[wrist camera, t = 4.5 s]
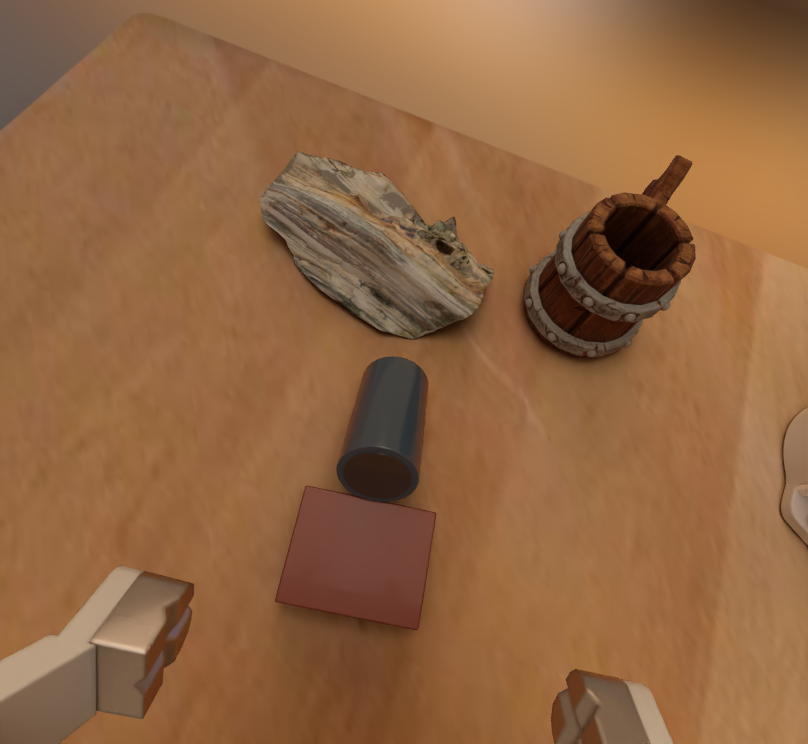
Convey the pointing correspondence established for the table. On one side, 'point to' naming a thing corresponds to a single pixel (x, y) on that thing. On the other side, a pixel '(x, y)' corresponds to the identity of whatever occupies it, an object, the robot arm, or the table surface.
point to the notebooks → (358, 558)
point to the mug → (612, 270)
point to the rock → (373, 247)
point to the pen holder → (385, 432)
